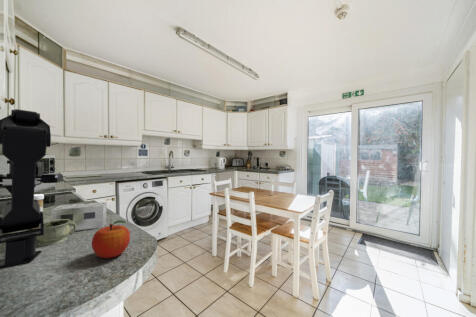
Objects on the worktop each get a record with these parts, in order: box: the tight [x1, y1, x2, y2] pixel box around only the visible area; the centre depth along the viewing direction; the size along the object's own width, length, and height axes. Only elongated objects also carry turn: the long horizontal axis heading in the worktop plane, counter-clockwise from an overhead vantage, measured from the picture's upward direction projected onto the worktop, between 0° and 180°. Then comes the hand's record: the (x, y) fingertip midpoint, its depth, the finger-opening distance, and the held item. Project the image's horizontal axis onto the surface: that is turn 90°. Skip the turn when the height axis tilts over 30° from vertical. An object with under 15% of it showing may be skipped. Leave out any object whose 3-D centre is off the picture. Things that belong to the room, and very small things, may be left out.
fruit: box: [91, 219, 131, 259], centre depth 56 cm, size 10×10×10 cm
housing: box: [51, 201, 107, 232], centre depth 78 cm, size 8×16×9 cm, turn 117°
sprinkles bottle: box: [33, 193, 45, 229], centre depth 77 cm, size 5×5×14 cm
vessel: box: [36, 219, 76, 247], centre depth 65 cm, size 12×9×6 cm
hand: (21, 205), depth 61 cm, fingers closed
